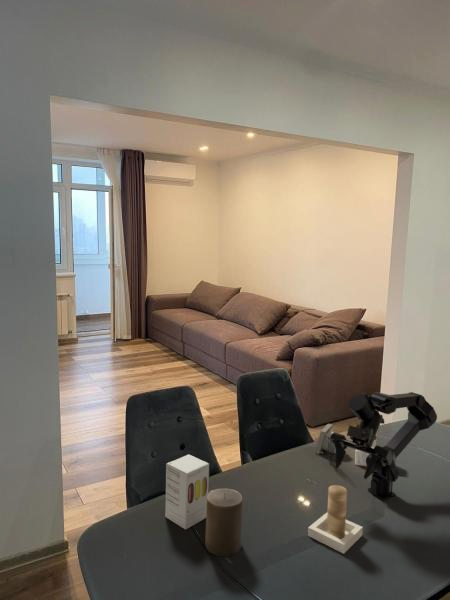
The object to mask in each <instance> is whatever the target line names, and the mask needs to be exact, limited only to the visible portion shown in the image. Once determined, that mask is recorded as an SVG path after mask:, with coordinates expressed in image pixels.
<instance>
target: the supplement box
mask: <svg viewBox="0 0 450 600" xmlns="http://www.w3.org/2000/svg"><path fill="white" fill-rule="evenodd" d="M165 468H166V469H165V510H164V511H165V514H164V515H165V518H166V519H168V520H170V521H172V522H173V523H174V524H175V525H178V526H179V527H180V528H182V529H184V530H187V529H189V528H190V527H192V526H195V525H196V524H199V523H200V522H201V521H203V520H206V510H207V495H208V494H209V486H210V485H209V480H210V479H209V478H210V477H209V476H210V463H208V462H207V461H205V460H201V459H200V458H198V457H196V456H193V455H191V454H186V455H184V456H181V457H179V458H177V459H175V460H172V461H169V462H167V463H166V464H165Z"/></svg>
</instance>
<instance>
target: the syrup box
mask: <svg viewBox="0 0 450 600" xmlns="http://www.w3.org/2000/svg"><path fill="white" fill-rule="evenodd" d="M371 448H373V447H371ZM354 453H355V457H354V459H355V460H354V465H356V466H360V467H361V466H362V467H367V465H366V458H367V456H368V455H369V454H368V453H365V452H362V451H359V450H356V449H355V451H354Z"/></svg>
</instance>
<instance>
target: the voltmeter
mask: <svg viewBox="0 0 450 600" xmlns="http://www.w3.org/2000/svg"><path fill="white" fill-rule="evenodd" d="M332 429H333V430H335V427H333V424H331V423H327V424H326V425H325V426H324V427H323V428H322V429H321V430H320V433H319V437H318V440H317V443H316V446H315V451H314V453H316V454H317V455H320V454H324V451H326V453H327V456H328V457H330V458H328V463H329V465H330V466H331V465H332V466H333V468H334V469H335V470H336V471H338V469H336V467H335V464H334V461H335V462H336V448H335V446H334V445H333V444H332V442H331V441H330V439H329V438H330V436H331V434H332V433H334V432H335V431H334V432H333V431H332ZM323 450H324V451H323Z"/></svg>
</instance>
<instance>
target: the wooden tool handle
mask: <svg viewBox="0 0 450 600" xmlns="http://www.w3.org/2000/svg"><path fill="white" fill-rule="evenodd" d="M327 496H328V497H327V511H326V513H327V533H329V534H331V535H333V536H335V537H337V538H339V539H342V538H344V536H345V520H347V519H346V518H347V517H346V516H347V497H348V490H347V488H346V487H344V486H343V485H338V484H337V485H336V484H333V485H330V486H329V487H328V491H327Z"/></svg>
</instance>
